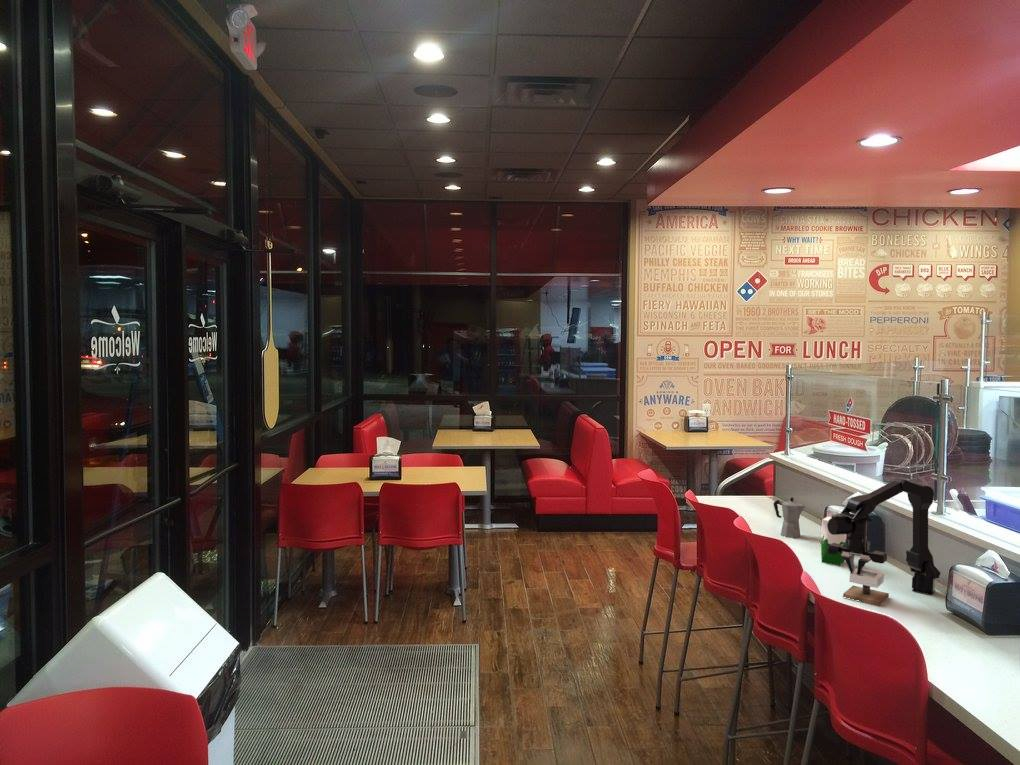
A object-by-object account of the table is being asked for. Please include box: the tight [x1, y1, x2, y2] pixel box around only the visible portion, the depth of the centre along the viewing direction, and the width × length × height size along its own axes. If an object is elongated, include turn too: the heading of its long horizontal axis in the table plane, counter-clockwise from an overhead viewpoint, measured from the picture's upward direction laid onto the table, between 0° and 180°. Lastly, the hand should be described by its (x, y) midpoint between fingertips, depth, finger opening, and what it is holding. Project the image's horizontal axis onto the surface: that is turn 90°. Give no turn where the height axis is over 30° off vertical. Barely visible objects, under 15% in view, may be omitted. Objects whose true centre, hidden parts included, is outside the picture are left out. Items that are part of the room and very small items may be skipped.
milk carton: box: [820, 513, 847, 566], centre depth 299 cm, size 9×9×20 cm
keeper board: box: [842, 585, 890, 607], centre depth 258 cm, size 12×12×6 cm
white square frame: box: [849, 567, 885, 589], centre depth 258 cm, size 9×9×3 cm
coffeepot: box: [773, 497, 807, 539], centre depth 341 cm, size 15×9×18 cm, turn 44°
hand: (855, 576), depth 260 cm, fingers closed on white square frame
